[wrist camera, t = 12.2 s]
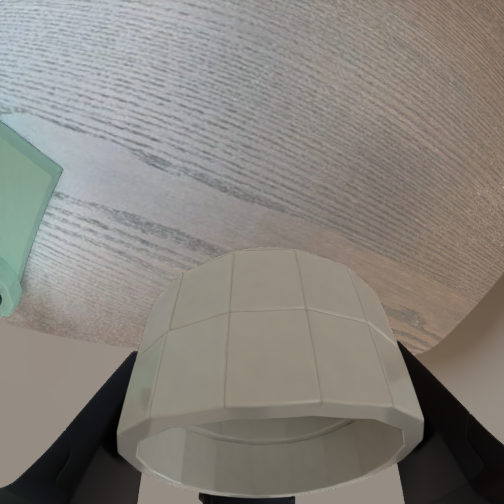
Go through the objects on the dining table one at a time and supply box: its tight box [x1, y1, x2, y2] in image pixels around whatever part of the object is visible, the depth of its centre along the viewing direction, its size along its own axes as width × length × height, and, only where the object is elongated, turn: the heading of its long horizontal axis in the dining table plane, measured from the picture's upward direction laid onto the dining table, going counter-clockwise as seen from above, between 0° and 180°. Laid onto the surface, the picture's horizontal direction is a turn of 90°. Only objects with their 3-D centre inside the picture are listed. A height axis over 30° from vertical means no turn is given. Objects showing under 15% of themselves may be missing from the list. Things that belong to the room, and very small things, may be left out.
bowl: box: [117, 247, 424, 498], centre depth 8 cm, size 7×7×4 cm
